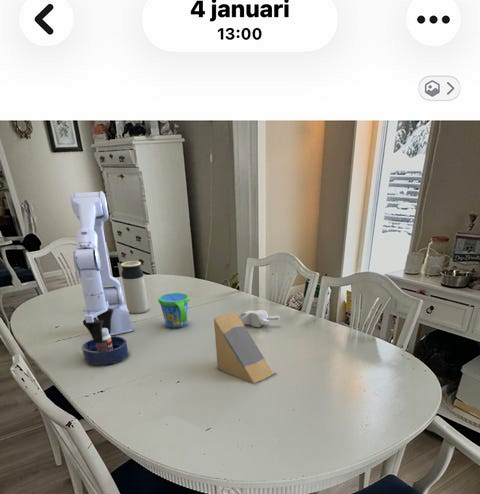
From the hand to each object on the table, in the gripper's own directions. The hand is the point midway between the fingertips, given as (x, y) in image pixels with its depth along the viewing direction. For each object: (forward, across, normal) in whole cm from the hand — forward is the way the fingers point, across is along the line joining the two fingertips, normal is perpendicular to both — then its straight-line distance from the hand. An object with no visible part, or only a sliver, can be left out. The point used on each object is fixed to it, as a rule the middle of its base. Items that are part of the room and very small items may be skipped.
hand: (103, 338), depth 142 cm
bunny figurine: (+7, -29, +46) cm, 54 cm away
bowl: (+6, 0, 0) cm, 6 cm away
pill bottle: (+6, 0, 0) cm, 6 cm away
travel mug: (+7, -47, -3) cm, 47 cm away
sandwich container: (+7, +10, +44) cm, 46 cm away
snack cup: (+7, -29, +16) cm, 34 cm away
